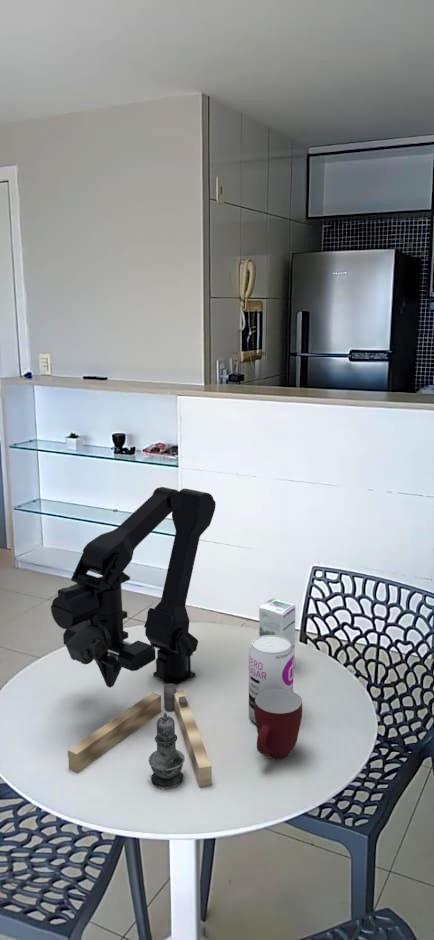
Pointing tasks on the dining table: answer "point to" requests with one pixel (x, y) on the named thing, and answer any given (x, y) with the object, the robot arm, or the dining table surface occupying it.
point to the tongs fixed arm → (189, 733)
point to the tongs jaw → (113, 732)
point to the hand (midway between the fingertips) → (110, 686)
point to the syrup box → (278, 620)
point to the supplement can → (269, 666)
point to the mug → (277, 721)
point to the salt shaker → (166, 756)
